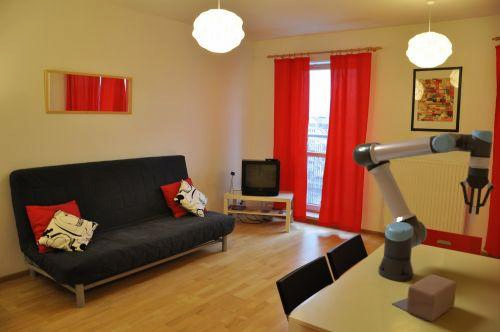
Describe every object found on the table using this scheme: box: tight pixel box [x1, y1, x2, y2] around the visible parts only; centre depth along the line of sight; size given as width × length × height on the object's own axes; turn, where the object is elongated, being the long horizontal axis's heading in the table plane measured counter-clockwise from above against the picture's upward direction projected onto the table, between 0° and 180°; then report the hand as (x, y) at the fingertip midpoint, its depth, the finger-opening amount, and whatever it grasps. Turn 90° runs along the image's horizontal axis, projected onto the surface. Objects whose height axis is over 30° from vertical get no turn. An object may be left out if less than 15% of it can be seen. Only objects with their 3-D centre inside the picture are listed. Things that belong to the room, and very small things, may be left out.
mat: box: [391, 297, 454, 322], centre depth 154 cm, size 18×14×1 cm
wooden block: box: [407, 273, 457, 322], centre depth 151 cm, size 10×10×20 cm
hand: (472, 221), depth 173 cm, fingers closed
